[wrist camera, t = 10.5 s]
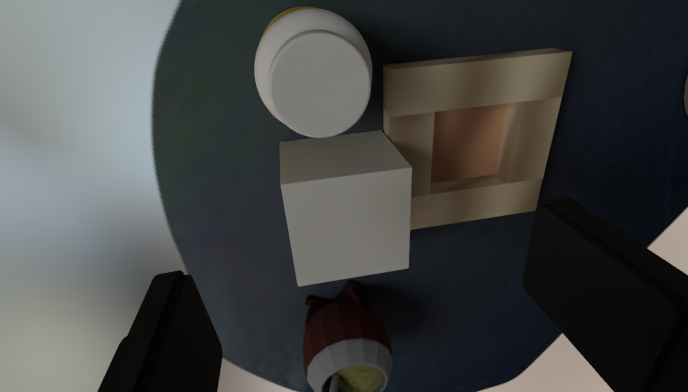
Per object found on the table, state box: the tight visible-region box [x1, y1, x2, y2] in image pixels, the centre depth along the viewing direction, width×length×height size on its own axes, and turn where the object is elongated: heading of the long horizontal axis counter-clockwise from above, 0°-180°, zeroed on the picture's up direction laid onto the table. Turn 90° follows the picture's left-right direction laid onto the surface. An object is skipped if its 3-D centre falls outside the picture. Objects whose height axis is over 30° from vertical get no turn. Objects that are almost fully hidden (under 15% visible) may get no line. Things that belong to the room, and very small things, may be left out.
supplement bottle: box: [254, 6, 372, 138], centre depth 18 cm, size 5×5×10 cm
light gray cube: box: [280, 130, 412, 287], centre depth 24 cm, size 7×7×7 cm
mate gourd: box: [303, 280, 393, 392], centre depth 26 cm, size 8×8×15 cm
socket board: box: [383, 48, 572, 230], centre depth 26 cm, size 12×12×2 cm
